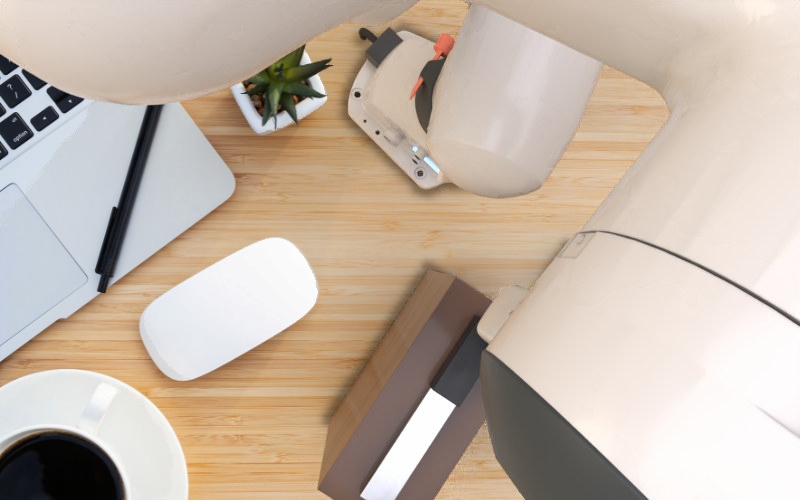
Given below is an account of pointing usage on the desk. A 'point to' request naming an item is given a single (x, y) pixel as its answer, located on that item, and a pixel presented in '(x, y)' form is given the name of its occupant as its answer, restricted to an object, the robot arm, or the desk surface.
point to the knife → (428, 416)
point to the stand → (405, 394)
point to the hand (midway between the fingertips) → (585, 382)
